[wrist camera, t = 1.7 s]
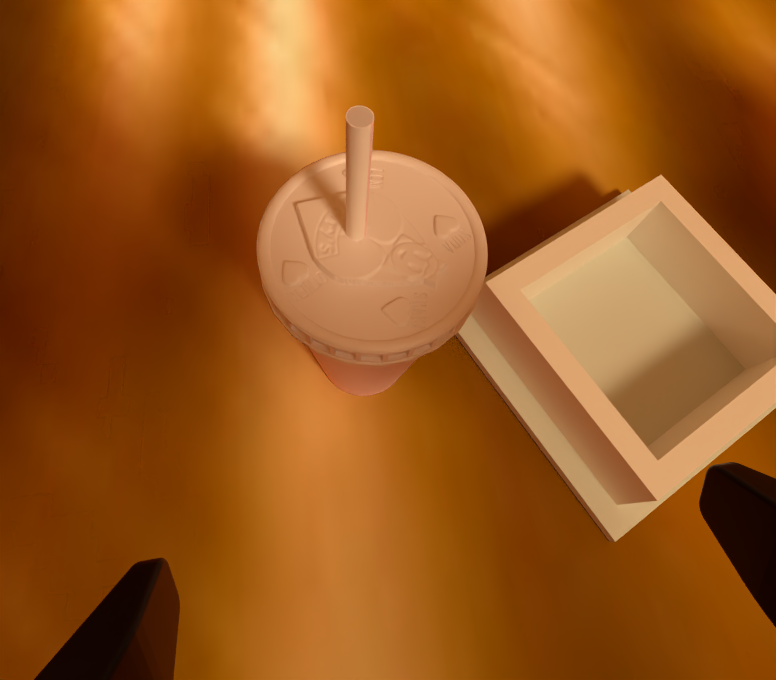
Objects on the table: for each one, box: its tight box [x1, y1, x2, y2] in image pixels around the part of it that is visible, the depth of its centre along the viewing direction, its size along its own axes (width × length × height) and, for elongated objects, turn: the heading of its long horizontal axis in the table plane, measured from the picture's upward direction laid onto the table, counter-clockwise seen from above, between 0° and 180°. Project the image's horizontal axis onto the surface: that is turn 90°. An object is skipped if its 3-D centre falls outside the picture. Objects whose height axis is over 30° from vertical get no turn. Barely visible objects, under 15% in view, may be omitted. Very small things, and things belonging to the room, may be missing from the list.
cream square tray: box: [455, 175, 776, 542], centre depth 23 cm, size 12×12×4 cm
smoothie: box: [257, 106, 488, 396], centre depth 17 cm, size 6×6×14 cm
